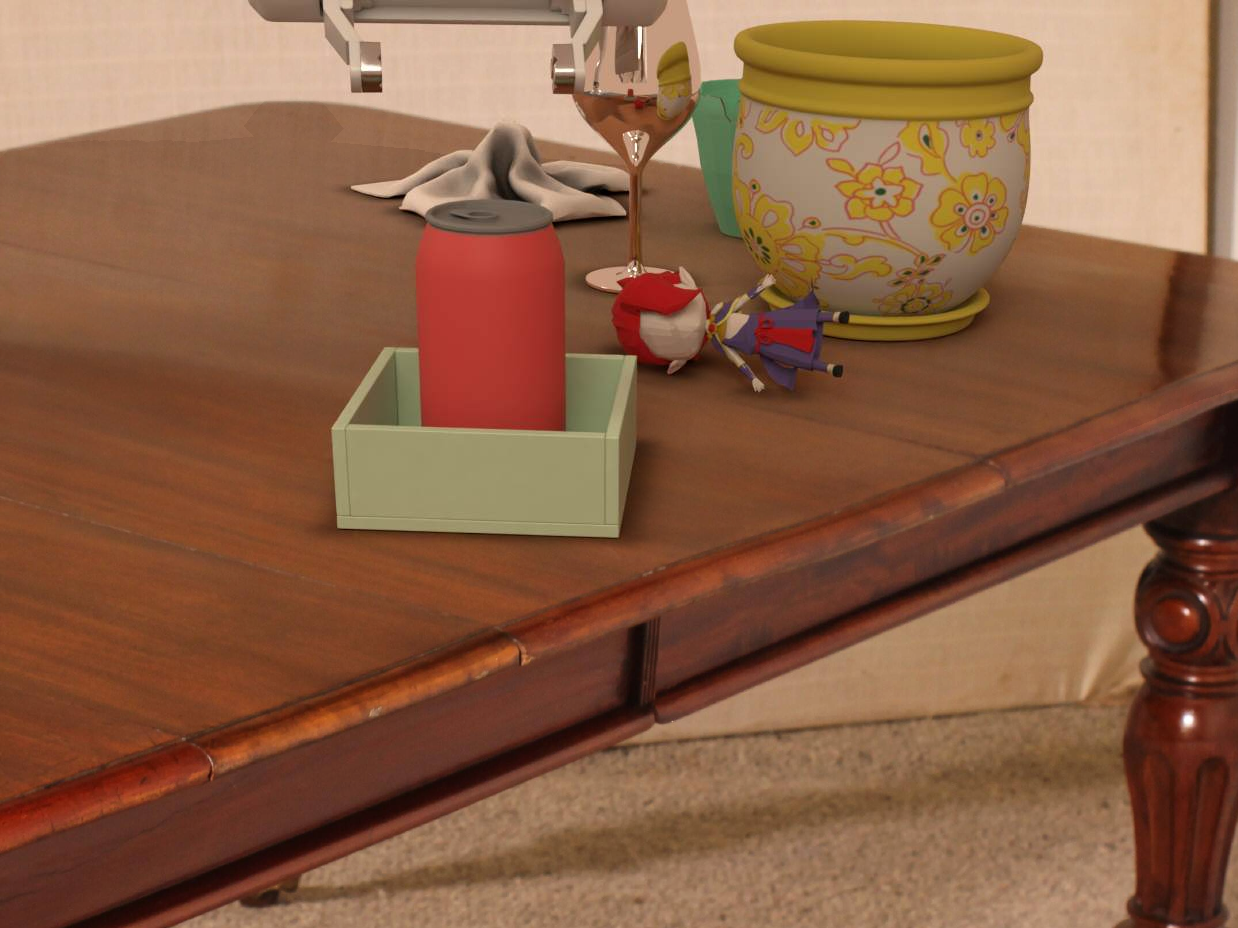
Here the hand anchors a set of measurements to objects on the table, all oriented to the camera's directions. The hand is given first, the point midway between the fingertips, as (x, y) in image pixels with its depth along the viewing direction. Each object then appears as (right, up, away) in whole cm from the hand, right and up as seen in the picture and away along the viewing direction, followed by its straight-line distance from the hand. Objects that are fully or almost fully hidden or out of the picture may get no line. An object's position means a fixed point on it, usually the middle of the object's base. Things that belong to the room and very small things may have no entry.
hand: (469, 86), depth 88 cm
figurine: (+12, -12, +15) cm, 23 cm away
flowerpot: (+21, -6, +28) cm, 36 cm away
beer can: (+1, -18, -1) cm, 18 cm away
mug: (+16, +3, +48) cm, 51 cm away
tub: (+1, -19, -1) cm, 19 cm away
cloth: (-6, +6, +55) cm, 55 cm away
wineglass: (+6, -3, +34) cm, 34 cm away
